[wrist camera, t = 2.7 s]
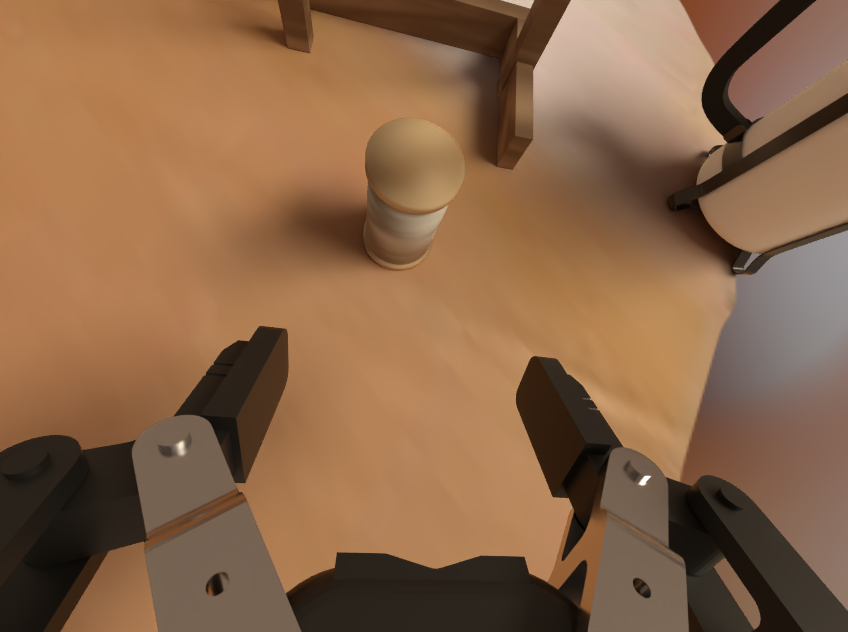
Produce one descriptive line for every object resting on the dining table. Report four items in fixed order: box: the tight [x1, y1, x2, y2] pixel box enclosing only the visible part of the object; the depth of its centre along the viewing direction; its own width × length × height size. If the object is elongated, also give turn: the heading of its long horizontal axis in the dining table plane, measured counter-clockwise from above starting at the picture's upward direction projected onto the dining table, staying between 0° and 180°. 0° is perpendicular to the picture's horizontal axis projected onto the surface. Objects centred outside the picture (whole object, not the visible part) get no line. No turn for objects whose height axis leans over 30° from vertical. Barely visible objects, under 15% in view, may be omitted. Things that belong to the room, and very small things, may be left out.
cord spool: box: [363, 118, 465, 271], centre depth 24 cm, size 6×6×10 cm
